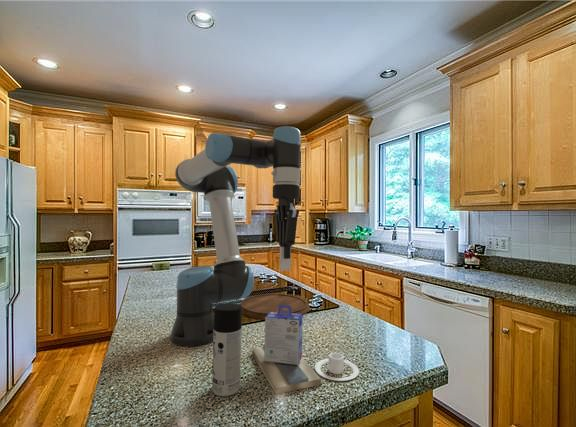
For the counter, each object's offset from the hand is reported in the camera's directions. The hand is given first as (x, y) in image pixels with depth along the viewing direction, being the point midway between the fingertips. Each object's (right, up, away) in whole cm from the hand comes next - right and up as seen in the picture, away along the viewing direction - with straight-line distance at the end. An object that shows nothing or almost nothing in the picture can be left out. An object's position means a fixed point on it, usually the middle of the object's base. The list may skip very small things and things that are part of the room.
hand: (285, 269), depth 84 cm
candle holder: (+14, -28, -1) cm, 31 cm away
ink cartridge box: (0, -25, 0) cm, 25 cm away
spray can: (-14, -27, -10) cm, 32 cm away
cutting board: (-6, -27, +53) cm, 60 cm away
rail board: (-1, -27, 0) cm, 27 cm away
